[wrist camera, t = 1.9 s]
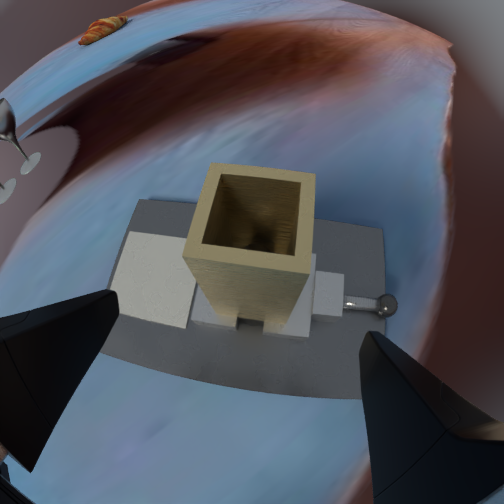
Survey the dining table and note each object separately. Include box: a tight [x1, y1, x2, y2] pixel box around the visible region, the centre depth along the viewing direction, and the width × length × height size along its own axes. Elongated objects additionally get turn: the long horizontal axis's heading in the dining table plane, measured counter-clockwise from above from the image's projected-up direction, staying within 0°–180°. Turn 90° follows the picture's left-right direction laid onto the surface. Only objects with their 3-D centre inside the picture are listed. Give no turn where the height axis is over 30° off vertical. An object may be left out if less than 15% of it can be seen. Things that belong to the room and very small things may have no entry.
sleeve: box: [182, 163, 316, 324], centre depth 15 cm, size 5×5×9 cm
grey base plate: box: [100, 199, 398, 399], centre depth 18 cm, size 14×23×7 cm, turn 81°
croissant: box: [78, 16, 128, 45], centre depth 54 cm, size 21×10×8 cm, turn 158°
